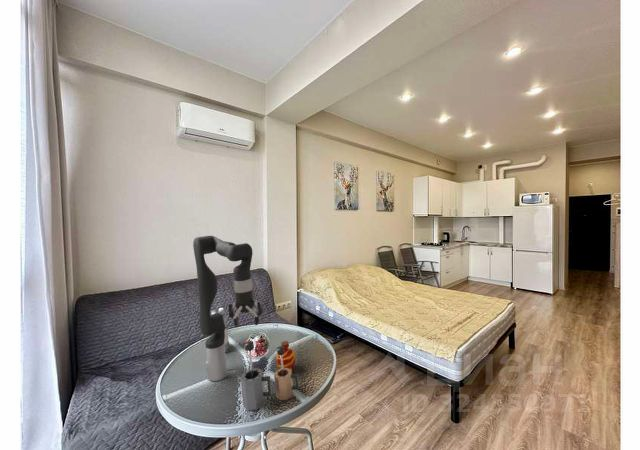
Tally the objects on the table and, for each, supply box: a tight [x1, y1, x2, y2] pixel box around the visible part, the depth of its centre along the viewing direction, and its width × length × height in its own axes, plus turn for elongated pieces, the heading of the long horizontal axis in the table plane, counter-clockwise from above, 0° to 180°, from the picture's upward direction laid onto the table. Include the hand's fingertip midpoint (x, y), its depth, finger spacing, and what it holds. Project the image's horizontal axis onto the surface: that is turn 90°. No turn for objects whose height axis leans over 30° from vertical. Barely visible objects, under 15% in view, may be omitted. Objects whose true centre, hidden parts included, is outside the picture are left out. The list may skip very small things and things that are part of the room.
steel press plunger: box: [244, 340, 255, 379], centre depth 114 cm, size 4×4×19 cm
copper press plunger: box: [276, 345, 285, 376], centre depth 118 cm, size 3×3×15 cm
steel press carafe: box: [240, 367, 273, 412], centre depth 114 cm, size 12×9×13 cm
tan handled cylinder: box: [273, 368, 300, 401], centre depth 118 cm, size 10×8×10 cm
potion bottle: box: [276, 340, 296, 372], centre depth 136 cm, size 10×10×15 cm
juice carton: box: [210, 307, 230, 353], centre depth 162 cm, size 9×10×27 cm
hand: (247, 325), depth 113 cm, fingers open, 8 cm apart
